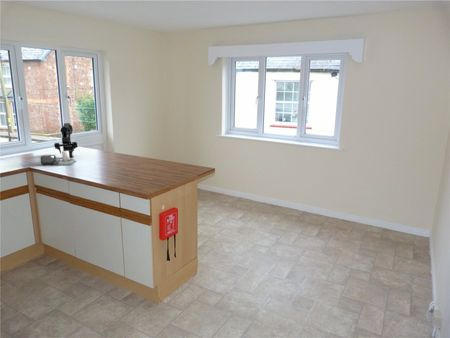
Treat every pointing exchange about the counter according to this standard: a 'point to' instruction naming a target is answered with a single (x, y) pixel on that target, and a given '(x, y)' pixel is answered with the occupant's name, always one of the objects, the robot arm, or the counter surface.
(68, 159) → the pump
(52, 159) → the motor
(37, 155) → the counter surface
